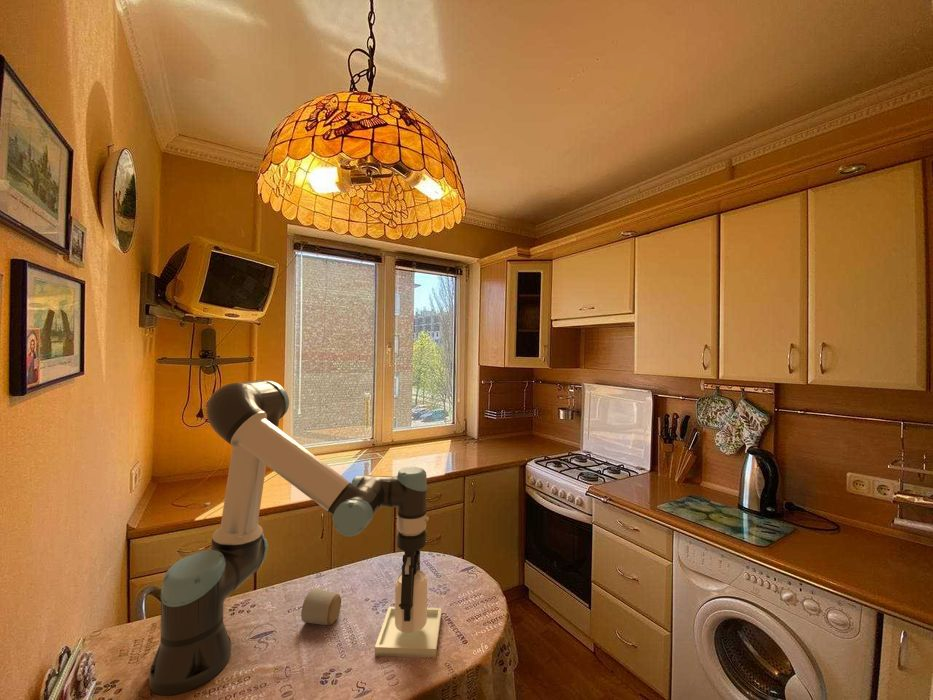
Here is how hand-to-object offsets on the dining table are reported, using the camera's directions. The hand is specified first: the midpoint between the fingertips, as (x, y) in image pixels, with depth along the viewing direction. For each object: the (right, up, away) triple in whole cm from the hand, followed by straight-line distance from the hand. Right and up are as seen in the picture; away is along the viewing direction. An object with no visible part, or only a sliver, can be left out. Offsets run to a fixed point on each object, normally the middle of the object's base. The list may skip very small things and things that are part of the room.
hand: (410, 618), depth 97 cm
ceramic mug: (-25, -4, +6) cm, 26 cm away
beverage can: (0, -1, 0) cm, 1 cm away
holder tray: (0, -4, 0) cm, 4 cm away
